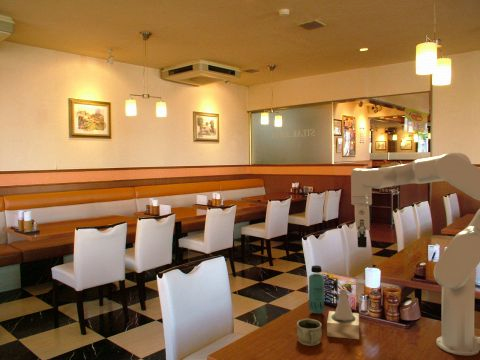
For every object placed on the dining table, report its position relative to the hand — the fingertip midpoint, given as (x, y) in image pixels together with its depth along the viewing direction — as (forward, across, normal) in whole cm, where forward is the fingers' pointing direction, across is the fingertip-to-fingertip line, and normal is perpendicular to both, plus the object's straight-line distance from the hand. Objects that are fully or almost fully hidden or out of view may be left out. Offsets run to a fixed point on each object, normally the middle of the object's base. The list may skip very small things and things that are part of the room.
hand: (361, 244), depth 153 cm
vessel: (+31, -21, +18) cm, 42 cm away
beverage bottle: (+31, +3, +18) cm, 36 cm away
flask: (+25, -11, +7) cm, 28 cm away
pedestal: (+30, -11, +7) cm, 33 cm away
